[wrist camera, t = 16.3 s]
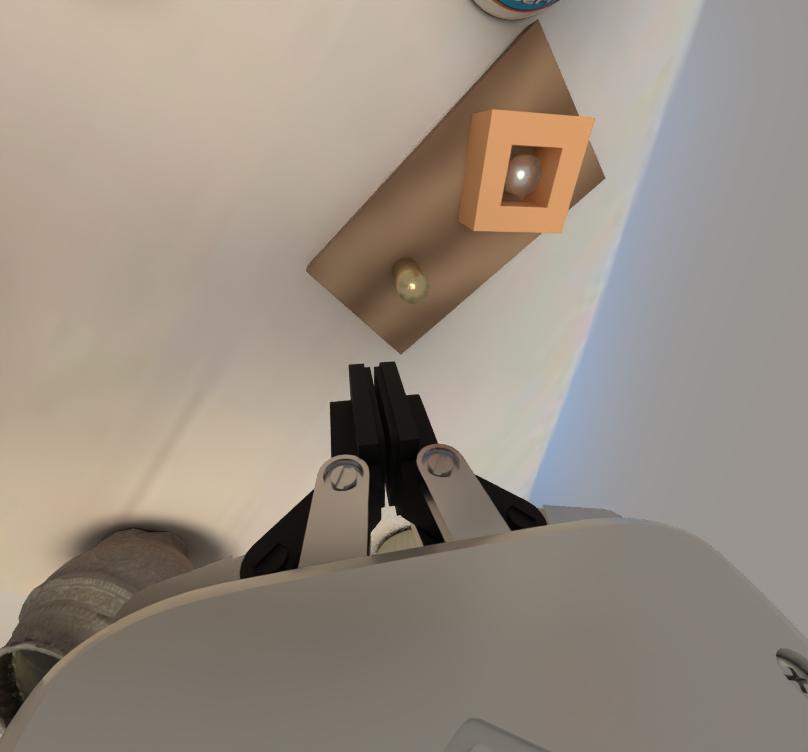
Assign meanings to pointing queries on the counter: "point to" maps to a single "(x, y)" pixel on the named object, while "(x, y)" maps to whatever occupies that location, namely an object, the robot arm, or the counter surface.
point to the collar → (488, 162)
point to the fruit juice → (514, 7)
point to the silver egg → (522, 174)
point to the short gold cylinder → (410, 281)
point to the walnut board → (443, 206)
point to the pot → (82, 606)
